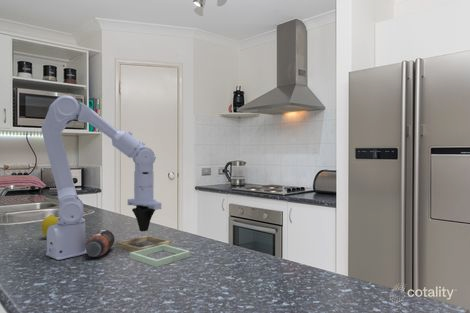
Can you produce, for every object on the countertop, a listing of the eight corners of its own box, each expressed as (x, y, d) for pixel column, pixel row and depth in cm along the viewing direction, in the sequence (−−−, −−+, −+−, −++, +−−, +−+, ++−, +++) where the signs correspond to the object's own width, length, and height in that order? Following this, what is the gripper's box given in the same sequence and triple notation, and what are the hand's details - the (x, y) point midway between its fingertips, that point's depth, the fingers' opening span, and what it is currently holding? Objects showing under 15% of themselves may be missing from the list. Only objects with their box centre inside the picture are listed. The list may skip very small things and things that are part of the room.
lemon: (63, 237, 119) (63, 213, 119) (53, 241, 113) (53, 216, 113) (48, 236, 119) (48, 213, 119) (37, 240, 114) (37, 216, 114)
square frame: (156, 267, 87) (156, 261, 87) (129, 258, 95) (129, 252, 95) (190, 256, 96) (190, 251, 96) (163, 249, 104) (163, 244, 104)
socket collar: (139, 254, 99) (139, 248, 99) (116, 247, 106) (116, 242, 106) (170, 245, 108) (170, 241, 108) (147, 239, 115) (147, 235, 115)
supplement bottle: (99, 226, 104) (87, 234, 93) (118, 233, 104) (108, 242, 93) (91, 244, 104) (78, 255, 92) (110, 252, 104) (99, 263, 93)
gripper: (169, 187, 105) (169, 231, 105) (140, 184, 114) (140, 225, 114) (150, 188, 100) (150, 236, 100) (121, 185, 109) (121, 229, 109)
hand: (143, 230), depth 107 cm, fingers closed
